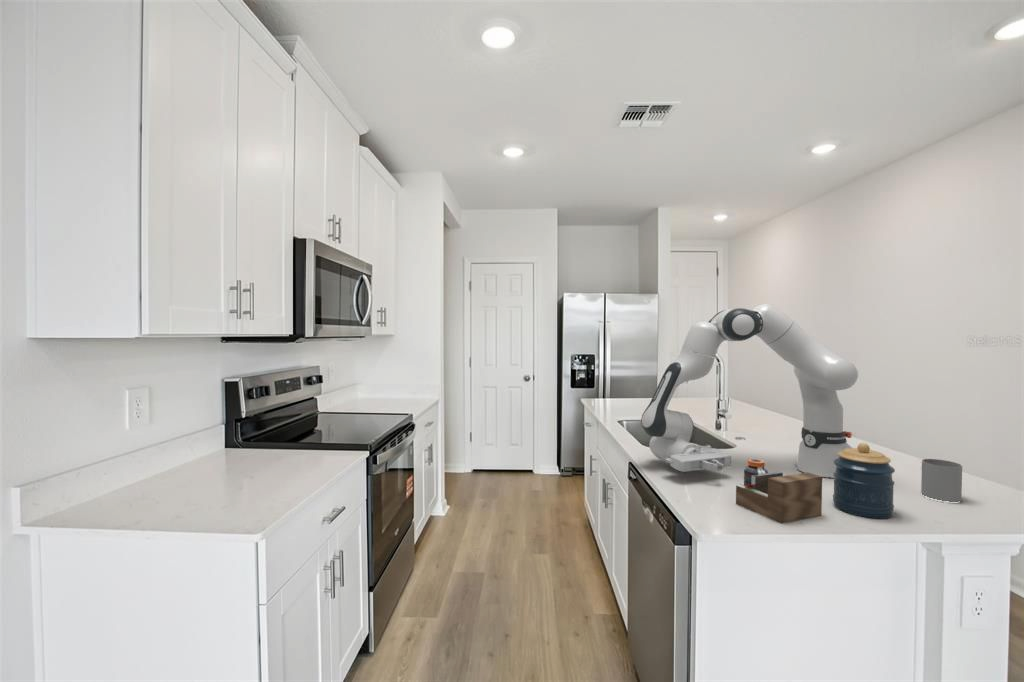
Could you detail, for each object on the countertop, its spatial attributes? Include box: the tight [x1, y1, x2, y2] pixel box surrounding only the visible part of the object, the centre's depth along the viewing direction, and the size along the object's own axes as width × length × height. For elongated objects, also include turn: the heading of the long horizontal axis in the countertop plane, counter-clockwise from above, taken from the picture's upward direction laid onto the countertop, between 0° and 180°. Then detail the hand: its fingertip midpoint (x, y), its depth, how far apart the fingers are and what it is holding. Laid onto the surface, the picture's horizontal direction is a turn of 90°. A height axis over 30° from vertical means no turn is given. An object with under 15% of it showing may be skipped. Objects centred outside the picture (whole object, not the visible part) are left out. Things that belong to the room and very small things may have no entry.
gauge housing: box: [735, 472, 823, 524], centre depth 125 cm, size 14×14×10 cm
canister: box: [832, 442, 896, 519], centre depth 125 cm, size 13×13×18 cm
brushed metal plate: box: [745, 471, 784, 494], centre depth 128 cm, size 12×1×8 cm, turn 111°
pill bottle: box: [743, 458, 769, 486], centre depth 131 cm, size 6×6×11 cm
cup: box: [920, 458, 963, 502], centre depth 134 cm, size 8×8×10 cm
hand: (719, 467), depth 144 cm, fingers closed
